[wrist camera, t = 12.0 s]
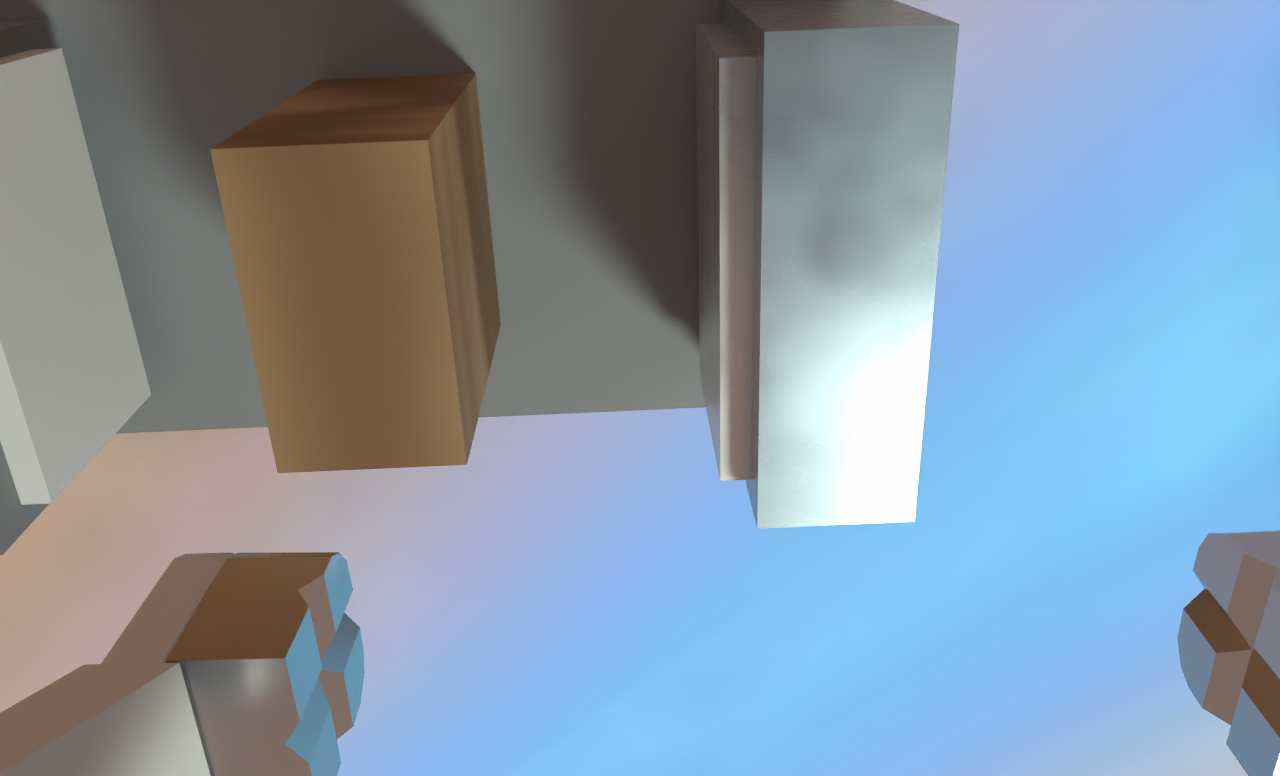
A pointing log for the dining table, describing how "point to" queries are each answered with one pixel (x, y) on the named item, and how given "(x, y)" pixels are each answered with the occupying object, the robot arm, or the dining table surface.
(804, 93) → the block
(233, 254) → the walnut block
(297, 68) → the vise body
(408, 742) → the dining table surface
